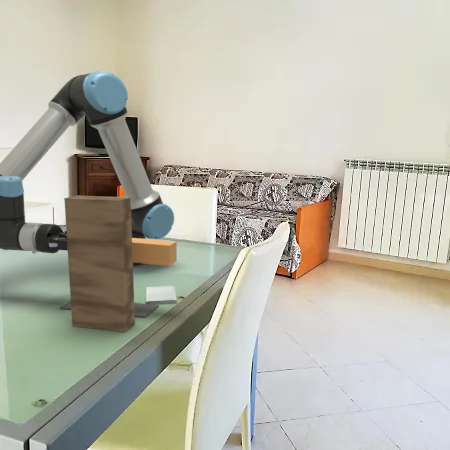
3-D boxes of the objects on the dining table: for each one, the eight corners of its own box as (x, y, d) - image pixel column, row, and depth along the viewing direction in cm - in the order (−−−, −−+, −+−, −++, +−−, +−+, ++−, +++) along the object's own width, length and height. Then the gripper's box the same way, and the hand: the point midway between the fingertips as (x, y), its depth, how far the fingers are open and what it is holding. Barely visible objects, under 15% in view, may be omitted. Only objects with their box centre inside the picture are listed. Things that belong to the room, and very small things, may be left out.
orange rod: (96, 253, 121) (95, 234, 120) (176, 261, 115) (176, 241, 114) (87, 258, 116) (86, 238, 115) (169, 266, 111) (169, 245, 110)
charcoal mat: (76, 298, 127) (76, 296, 127) (158, 306, 121) (158, 305, 121) (59, 308, 119) (59, 307, 119) (145, 318, 113) (145, 316, 113)
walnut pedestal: (84, 318, 113) (77, 195, 108) (134, 323, 110) (130, 197, 104) (72, 326, 109) (64, 198, 103) (125, 332, 105) (120, 200, 100)
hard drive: (176, 299, 123) (174, 285, 135) (145, 301, 122) (145, 286, 134) (177, 305, 123) (174, 290, 135) (145, 307, 122) (146, 291, 134)
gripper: (63, 244, 130) (140, 250, 124) (21, 260, 114) (107, 267, 108) (61, 218, 129) (139, 222, 123) (18, 230, 112) (106, 236, 106)
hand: (124, 243), depth 115 cm, fingers closed on orange rod, 4 cm apart
